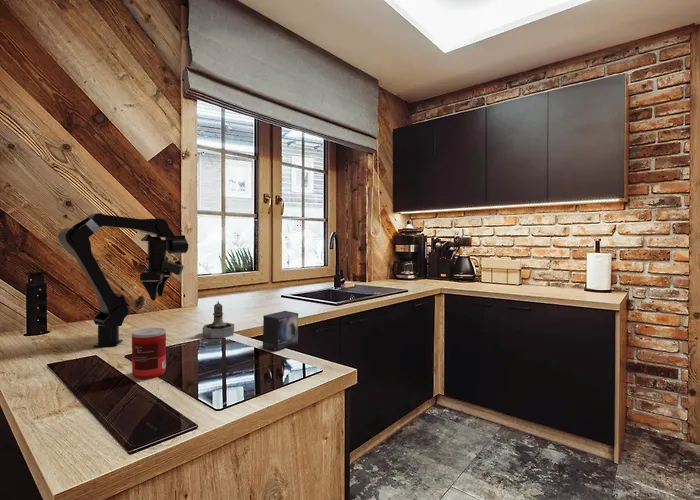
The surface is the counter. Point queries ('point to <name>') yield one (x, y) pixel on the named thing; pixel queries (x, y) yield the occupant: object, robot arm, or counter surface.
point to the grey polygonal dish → (218, 331)
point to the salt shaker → (218, 317)
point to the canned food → (148, 352)
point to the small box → (280, 330)
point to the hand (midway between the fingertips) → (157, 298)
